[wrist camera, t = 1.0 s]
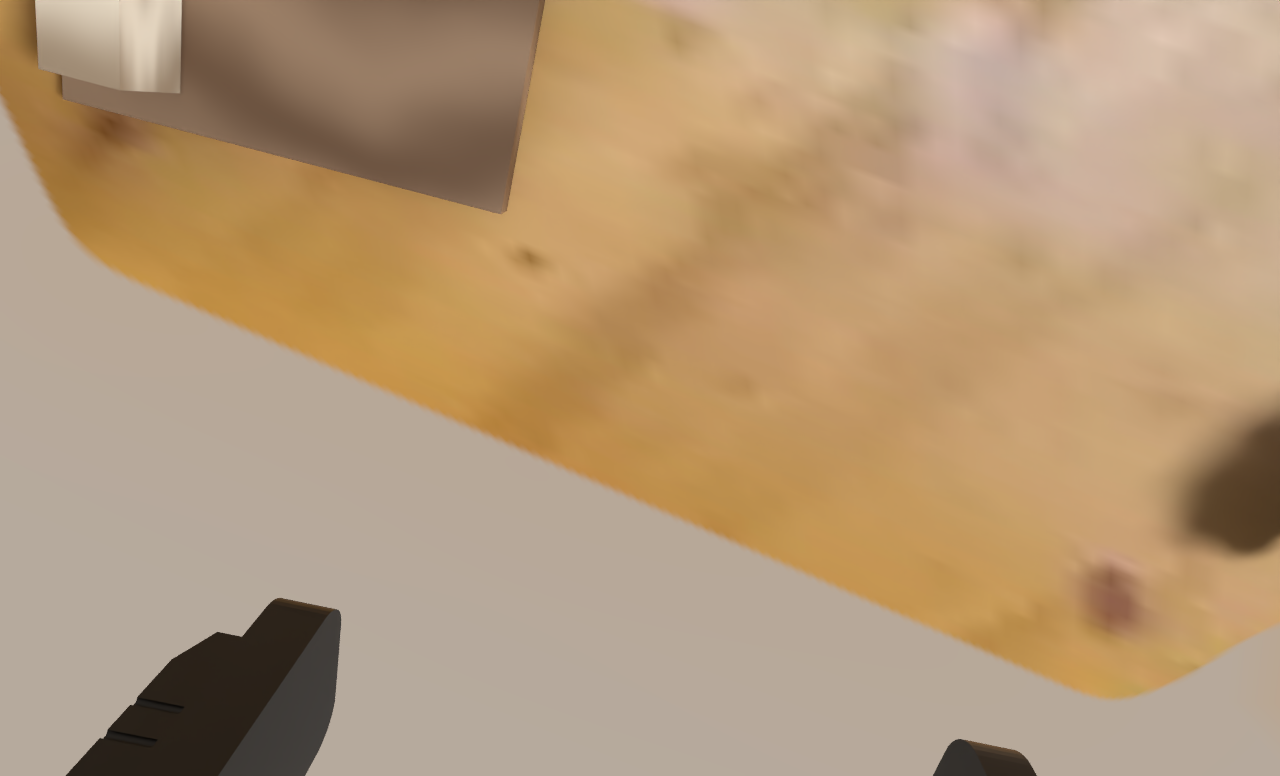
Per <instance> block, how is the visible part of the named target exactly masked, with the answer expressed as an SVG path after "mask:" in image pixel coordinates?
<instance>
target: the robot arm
mask: <svg viewBox="0 0 1280 776" xmlns="http://www.w3.org/2000/svg"><path fill="white" fill-rule="evenodd" d="M340 630H341V614H340V612H339V610H337V609H332V608H327V607H322V606H317V605H312V604H307V603H302V602H298V601H293V600H288V599H283V598H277V599H275V600H273V601H272V602H271V603H270V604H269V605H268V606H267V607H266V608H265V609H264V611H263V612H262V613H261V615H260V616H259V617H258V618H257V619H256V620H255V622H254V623H253V624H252V625H251V627H250V628H249V629H248V630H247V631H246V633H245V634H244V635H243V636H242V637H240V636H235V635H230V634H225V633H220V632H217V633H215V634H213V635H212V636H210V637H208V638H207V639H205V640H203V641H202V642H200V643H199V644H197V645H195V646H193V647H192V648H190V649H188V650H187V651H185V652H183V653H182V654H180V655H178V656H177V657H175V658H174V659H172V660H171V661H170V662H169V663H168V664H167V665H166V666H165V667H164V669H163V670H162V671H161V672H160V673H159V674H158V675H157V676H156V677H155V678H154V679H153V681H152V682H151V683H150V684H149V685H148V686H147V687H146V688H145V689H144V690H143V692H142V693H141V694H140V695H139V696H138V697H137V701H136V703H135V704H134V705H130V706H129V707H128V708H127V709H126V710H125V711H124V712H123V714H122V715H121V716H120V717H119V718H118V719H117V720H116V721H115V722H114V723H113V724H112V725H111V727H110V728H109V729H108V731H107V734H106V736H105V737H104V739H101V738H100V739H99V740H98V741H97V742H96V743H95V744H94V745H93V746H92V747H91V748H90V750H89V751H88V752H87V753H86V754H85V755H84V756H83V757H82V758H81V760H80V761H79V762H78V763H77V764H76V765H75V766H74V767H73V768H72V769H71V770H70V771H69V773H68V774H67V775H66V776H305V775H306V773H307V771H308V769H309V767H310V765H311V764H312V762H313V760H314V758H315V756H316V754H317V753H318V751H319V748H320V746H321V744H322V742H323V739H324V737H325V734H326V732H327V729H328V726H329V723H330V719H331V716H332V712H333V707H334V702H335V692H336V680H337V667H338V655H339V643H340V642H339V641H340ZM933 776H1037V775H1036V773H1035V772H1034V770H1033V768H1032V766H1031V765H1030V763H1029V761H1028V760H1027V759H1026V758H1025V757H1024V756H1023V755H1022V754H1021V753H1020V752H1018V751H1015V750H1011V749H1006V748H1001V747H997V746H992V745H987V744H982V743H977V742H972V741H967V740H962V739H958V740H955V741H953V742H952V743H951V744H950V745H949V746H948V748H947V750H946V751H945V753H944V755H943V757H942V759H941V761H940V763H939V765H938V767H937V769H936V771H935V773H934V775H933Z"/></svg>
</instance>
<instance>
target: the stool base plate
mask: <svg viewBox="0 0 1280 776" xmlns="http://www.w3.org/2000/svg"><path fill="white" fill-rule="evenodd" d="M544 3H545V0H182V16H181V73H180V93H162V92H142V91H123V90H117V89H113V88H109V87H105V86H102V85H98V84H94V83H90V82H87V81H83V80H79V79H75V78H71V77H68V76H64V75H62V90H63V99H64V100H68V101H72V102H75V103H79V104H83V105H87V106H91V107H95V108H98V109H102V110H106V111H110V112H114V113H117V114H121V115H125V116H129V117H133V118H136V119H140V120H144V121H148V122H152V123H155V124H159V125H163V126H167V127H171V128H174V129H178V130H182V131H186V132H190V133H194V134H197V135H201V136H205V137H209V138H213V139H216V140H220V141H224V142H228V143H232V144H235V145H239V146H243V147H247V148H251V149H254V150H258V151H262V152H266V153H270V154H273V155H277V156H281V157H285V158H289V159H292V160H296V161H300V162H304V163H308V164H312V165H315V166H319V167H323V168H327V169H331V170H334V171H338V172H342V173H346V174H350V175H353V176H357V177H361V178H365V179H369V180H372V181H376V182H380V183H384V184H388V185H391V186H395V187H399V188H403V189H407V190H411V191H414V192H418V193H422V194H426V195H430V196H433V197H437V198H441V199H445V200H449V201H452V202H456V203H460V204H464V205H468V206H471V207H475V208H479V209H483V210H487V211H490V212H494V213H498V214H502V213H504V212H505V211H507V206H508V200H509V195H510V189H511V184H512V178H513V173H514V167H515V162H516V156H517V151H518V145H519V140H520V134H521V129H522V123H523V118H524V113H525V107H526V102H527V96H528V91H529V85H530V80H531V74H532V69H533V63H534V58H535V52H536V47H537V41H538V36H539V30H540V25H541V19H542V14H543V8H544Z"/></svg>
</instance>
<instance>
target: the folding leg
mask: <svg viewBox="0 0 1280 776" xmlns="http://www.w3.org/2000/svg"><path fill="white" fill-rule="evenodd" d="M35 7H36V27H37V47H38V68H39V69H41V70H45V71H49V72H52V73H56V74H60V75H64V76H68V77H71V78H75V79H79V80H83V81H87V82H90V83H94V84H98V85H102V86H105V87H109V88H113V89H117V90H123V91H142V92H162V93H180V73H181V16H182V0H35Z"/></svg>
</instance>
